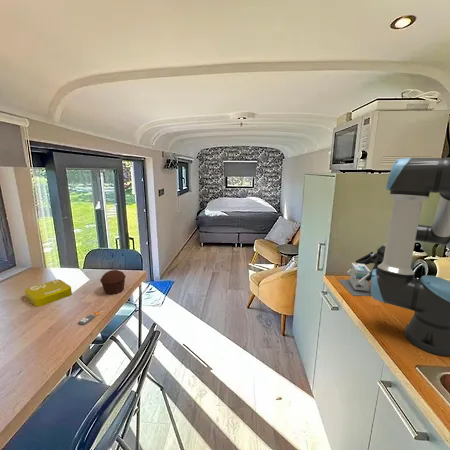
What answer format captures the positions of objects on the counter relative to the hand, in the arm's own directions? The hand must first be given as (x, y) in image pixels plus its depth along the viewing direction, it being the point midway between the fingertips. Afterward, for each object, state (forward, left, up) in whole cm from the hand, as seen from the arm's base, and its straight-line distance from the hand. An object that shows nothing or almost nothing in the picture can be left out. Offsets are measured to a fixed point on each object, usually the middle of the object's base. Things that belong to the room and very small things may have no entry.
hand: (354, 278), depth 133 cm
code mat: (0, -3, -5) cm, 6 cm away
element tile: (-14, +149, -6) cm, 150 cm away
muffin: (-8, +121, -5) cm, 122 cm away
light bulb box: (0, -3, -4) cm, 5 cm away
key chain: (-30, +120, -6) cm, 124 cm away
